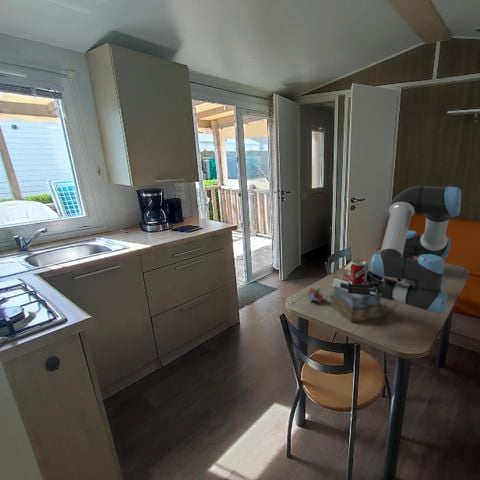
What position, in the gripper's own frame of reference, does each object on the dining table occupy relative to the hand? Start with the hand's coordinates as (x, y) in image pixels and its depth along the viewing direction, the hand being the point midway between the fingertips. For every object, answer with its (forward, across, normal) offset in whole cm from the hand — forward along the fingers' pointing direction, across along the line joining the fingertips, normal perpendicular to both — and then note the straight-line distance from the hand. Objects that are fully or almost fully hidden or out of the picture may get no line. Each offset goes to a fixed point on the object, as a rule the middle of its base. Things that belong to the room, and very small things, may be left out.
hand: (341, 276), depth 122 cm
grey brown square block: (-5, +4, -16) cm, 17 cm away
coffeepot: (-17, +34, -16) cm, 42 cm away
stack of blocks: (+6, +29, -16) cm, 34 cm away
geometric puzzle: (+12, 0, -16) cm, 20 cm away
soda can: (-5, +5, -6) cm, 9 cm away
